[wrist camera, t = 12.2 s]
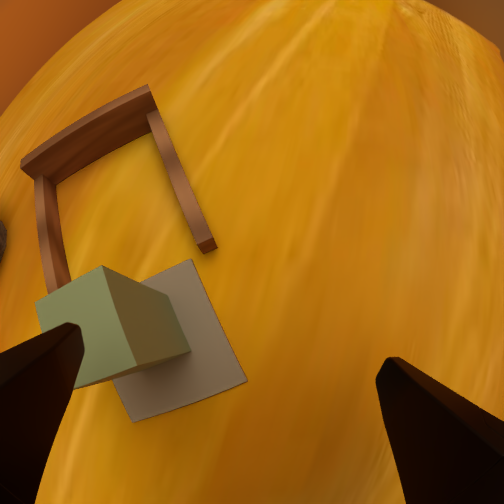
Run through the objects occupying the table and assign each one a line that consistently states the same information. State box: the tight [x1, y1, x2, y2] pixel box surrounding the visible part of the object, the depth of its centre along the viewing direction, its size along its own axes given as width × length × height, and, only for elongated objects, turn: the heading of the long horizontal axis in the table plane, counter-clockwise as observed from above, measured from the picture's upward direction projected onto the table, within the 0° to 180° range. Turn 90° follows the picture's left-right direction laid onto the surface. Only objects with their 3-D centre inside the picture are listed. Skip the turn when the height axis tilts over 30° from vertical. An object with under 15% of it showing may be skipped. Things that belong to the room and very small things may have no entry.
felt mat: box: [113, 259, 247, 423], centre depth 20 cm, size 10×10×1 cm
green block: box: [35, 265, 192, 390], centre depth 15 cm, size 4×4×10 cm
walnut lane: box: [20, 84, 218, 295], centre depth 21 cm, size 15×14×5 cm
